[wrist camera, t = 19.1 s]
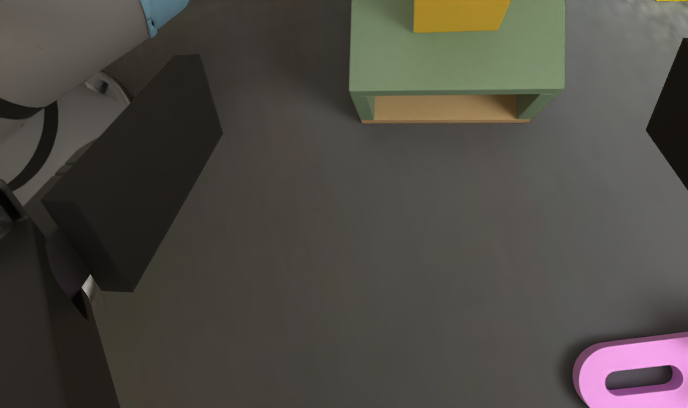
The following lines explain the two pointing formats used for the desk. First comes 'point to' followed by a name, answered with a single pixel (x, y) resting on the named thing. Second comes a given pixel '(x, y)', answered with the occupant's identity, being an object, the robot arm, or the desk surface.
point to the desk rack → (455, 65)
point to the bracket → (603, 358)
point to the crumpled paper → (671, 0)
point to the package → (458, 15)
